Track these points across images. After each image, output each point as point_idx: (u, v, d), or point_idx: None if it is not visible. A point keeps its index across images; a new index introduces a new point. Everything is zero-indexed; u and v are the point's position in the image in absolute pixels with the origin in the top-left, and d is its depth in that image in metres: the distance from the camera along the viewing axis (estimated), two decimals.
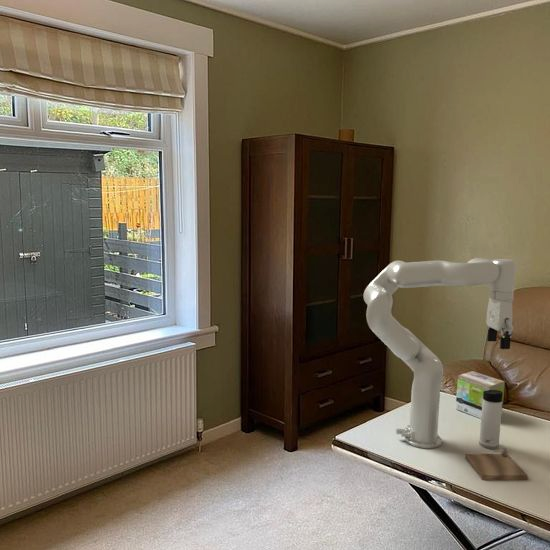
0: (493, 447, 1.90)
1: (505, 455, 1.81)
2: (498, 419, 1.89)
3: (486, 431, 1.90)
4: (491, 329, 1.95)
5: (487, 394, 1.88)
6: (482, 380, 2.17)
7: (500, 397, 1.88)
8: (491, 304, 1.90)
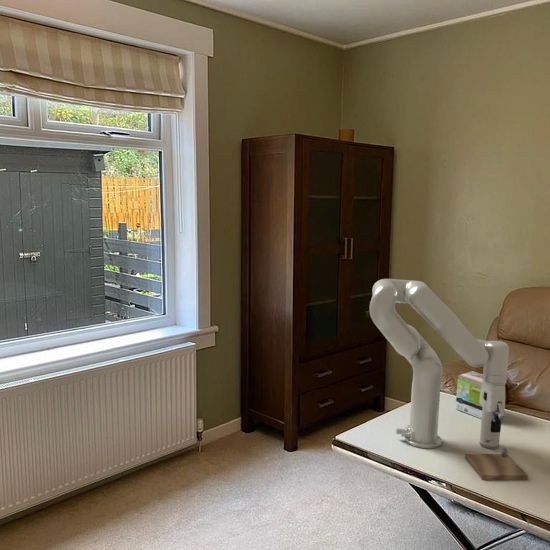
0: (493, 447, 1.90)
1: (505, 455, 1.81)
2: None
3: (486, 431, 1.90)
4: None
5: None
6: (482, 380, 2.17)
7: None
8: (484, 385, 1.91)
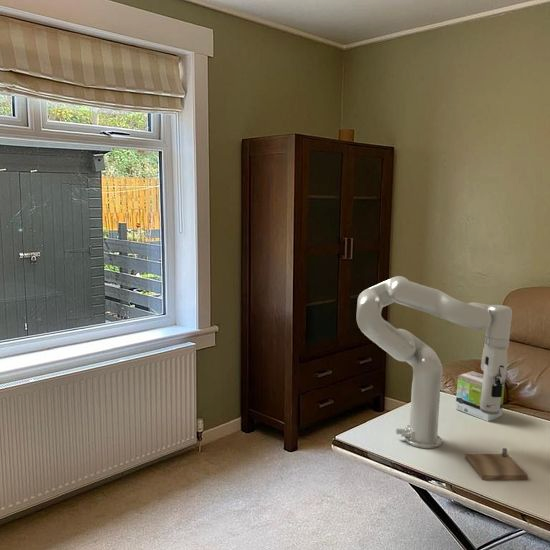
0: (494, 412, 1.88)
1: (505, 455, 1.81)
2: None
3: (487, 396, 1.88)
4: None
5: None
6: (482, 380, 2.17)
7: None
8: (486, 350, 1.89)
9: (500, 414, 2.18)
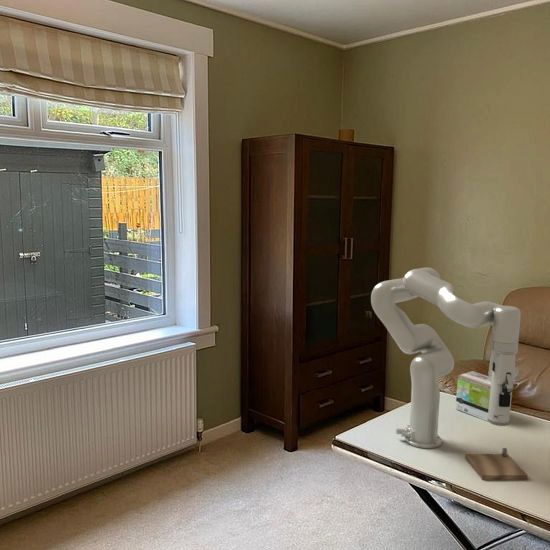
0: (502, 423, 1.72)
1: (505, 455, 1.81)
2: None
3: (494, 405, 1.72)
4: None
5: None
6: (482, 380, 2.17)
7: None
8: (493, 355, 1.73)
9: None
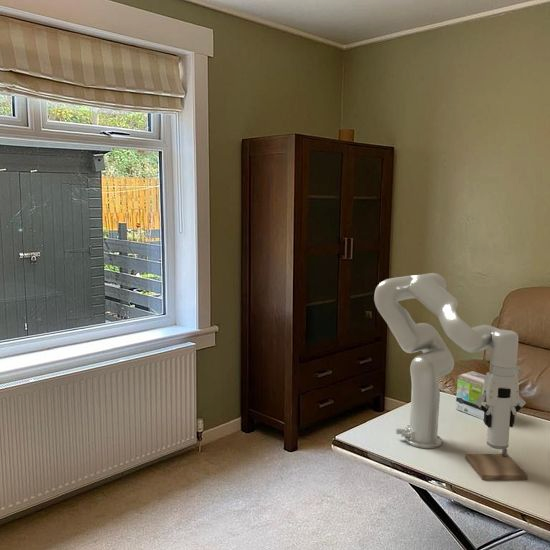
0: (488, 443, 1.75)
1: (505, 455, 1.81)
2: (492, 414, 1.73)
3: None
4: None
5: None
6: (482, 380, 2.17)
7: None
8: None
9: None
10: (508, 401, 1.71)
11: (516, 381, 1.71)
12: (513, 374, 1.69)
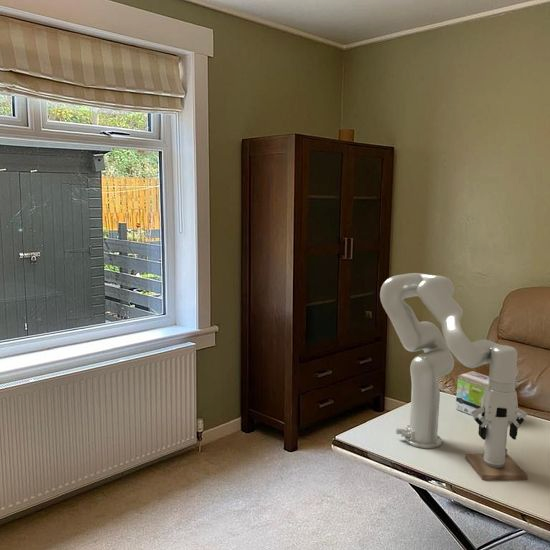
0: (484, 461, 1.76)
1: (505, 455, 1.81)
2: (489, 433, 1.74)
3: None
4: (512, 424, 1.75)
5: None
6: (482, 380, 2.17)
7: None
8: None
9: None
10: (505, 420, 1.72)
11: (515, 396, 1.71)
12: (512, 390, 1.70)
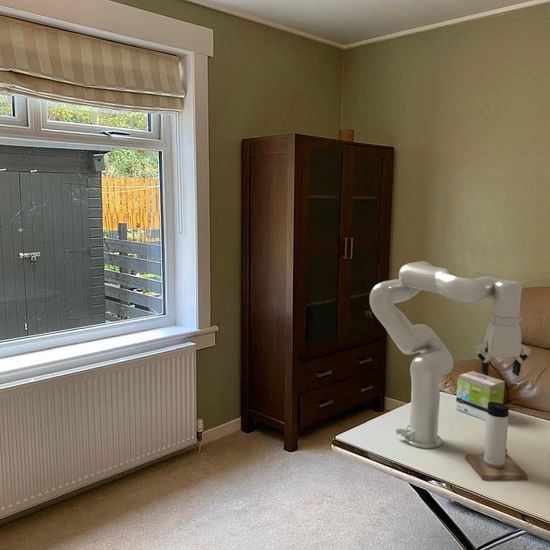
0: (484, 461, 1.76)
1: (505, 455, 1.81)
2: (489, 433, 1.74)
3: None
4: (515, 361, 1.74)
5: None
6: (482, 380, 2.17)
7: (492, 410, 1.72)
8: None
9: None
10: (505, 420, 1.72)
11: (518, 331, 1.69)
12: (515, 324, 1.68)
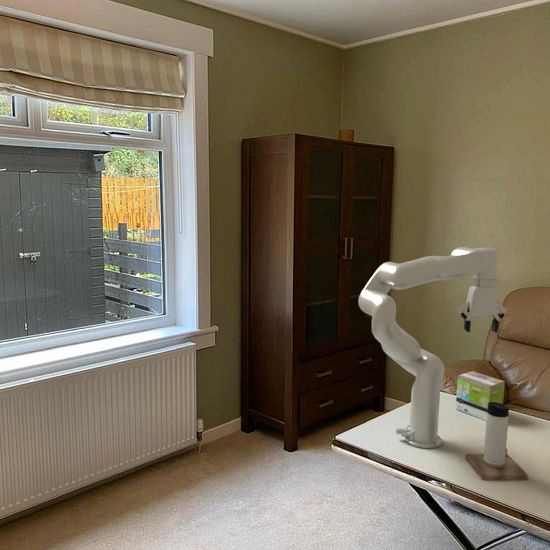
0: (484, 461, 1.76)
1: (505, 455, 1.81)
2: (489, 433, 1.74)
3: None
4: (494, 319, 1.96)
5: None
6: (482, 380, 2.17)
7: (492, 410, 1.72)
8: None
9: None
10: (505, 420, 1.72)
11: (496, 292, 1.92)
12: (493, 285, 1.90)
